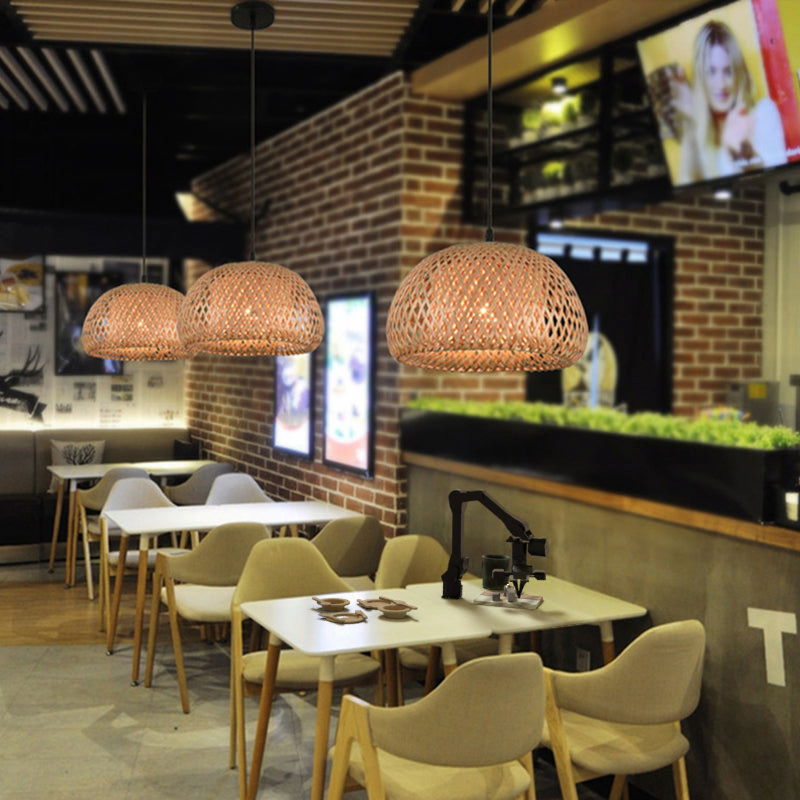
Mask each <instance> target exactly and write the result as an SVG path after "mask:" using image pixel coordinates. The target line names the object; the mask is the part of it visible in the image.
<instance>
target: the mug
mask: <svg viewBox="0 0 800 800" xmlns="http://www.w3.org/2000/svg"><path fill="white" fill-rule="evenodd" d="M481 558H482V561H481V570H482V579H481V580H482V581H481V582H482V588H484V587H485V588H484V589H488V590H504V586H506V585H507V584H510V583H509V577H504V578H503V579H502V580H496V579H493V570H494V569H504V572H510V560H511V556H509V555H506V554H505V555H504V554H495V553H494V554H493V553H492V554H491V553H489V554H483V555H482V556H481Z"/></svg>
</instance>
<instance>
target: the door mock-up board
mask: <svg viewBox="0 0 800 800" xmlns="http://www.w3.org/2000/svg"><path fill="white" fill-rule="evenodd" d="M543 600H544V597H543V595H530V594H521V597H520V599H518V597H517V593H515V601H508V599H507V597H506V595H504V592H498V591H488V590H487V591H485V590H484V591H483V592H482V593H480V594H479V595H478V596H477V597H476V598H475V599H474V600H473V604H474V605H483V606H484V605H485V606H495V607H496V606H497V607H506V608H508V607H509V608H516V609H525V610H528V609H529V610H536V609H537V607H538V606H540V604H541V603H542V602H543Z"/></svg>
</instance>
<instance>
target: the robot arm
mask: <svg viewBox="0 0 800 800" xmlns="http://www.w3.org/2000/svg"><path fill="white" fill-rule="evenodd" d="M447 497H448V498H447V499H448V507H449V509H450V512H451V516H452V517H451V554H450V556H449V559H448V563H447V569H446V571H445V572H443V574H441V576H440V578H441V581H442V595H441V597H440V598H441V599H442V598H443V599H451V600H458V599H460V598H461V597H463V587H464V586H463V584H462V579H463V577H464V576H465V575H466V574H467V573H468V569H469V568H470V567H471V566H470V564H469V562H470V556H467V557H466V554H465V513H466V511H467V507H468V504H469V502H475V501H476V502H479V503H480V504H481V505H482V506H484V507H485V508H486V509H487V510H488V511H490V512H491V513H492V514H493V515H494V516H495V517H496V518H498V519H499V520H500V521H501V522H502V523H503V525H504V526H505V528H506V530H507V531H508V532H509V533H510V535H509V537H508V538H507V539H506V540H505V543H510V545H511V549H510V551H511V553H510V571H509V572H504V569H494V570H493V579H496V580H502V579H503V578H504V577H509V582H510V583H512V586H514V591H515V594H517V597H518V599H520V597H521V595H523V594H522V593H523V591H524V587H525V586H526V584H527V583H530V578H535V579H536V581H546V580H547V575H546V574H547V573H546V571H545V570H544V569H533V565H531V564H529V565H528V554H529V555H530V557H536V558H537V557H539V558H540V557H541V558H548V556H549V553H550V552H549V551H550V545H549V542H548V537H536V536H535V535H534V533H533V532H532V531H531V529H530V524H529V523H528V522H529V521H527V520H525V519H524V518H523V517H522V518H521V517H520V516H519V515H516V514H514V513H513V512H511V511H509V510H508V509H507V508H506V507H504V506H503V505H502V504H501V503H500V502H499V501H497V499H495V498H494V497H493V496H492V495H490V494H489V492H487V491H486V490H485V489H483V488H480V489H474V490H473V489H472V490H466V489H464V488H457V489H454V490H452V491H450V492H449V493H448V496H447Z"/></svg>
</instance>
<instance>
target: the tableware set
mask: <svg viewBox="0 0 800 800" xmlns="http://www.w3.org/2000/svg"><path fill="white" fill-rule="evenodd" d="M311 600H313V601H315V602H316V604H317V605H318V606H321V608H322V609H323V610H324V611H327V612H331V613H326V612H323V613H318V614H317V615H318V616H319V617H321V618H325V619H326V620H327V621H328V622H332V623H338V624H354V623H355V624H356V623H360V622H364V621H365V620H369V618H368V615H367V614H366V613H364V611H362V609H356V610H354V612H351V611H349V612H348V611H347V612H345V611H343V610H344V609H345V607H346V606H349V605H351V601H350V600H349V599H346V598H343V597H342V598H341V597H340V598H339V597H326V598H318V597H316V596H312V597H311ZM356 602H357V603H358V604H359V606H360V607H362V608H367V609H374V610H378V611H379V612H382V613H383V616H384V617H385V618H388V619H389V618H390V619H401V618H405V617H406V615H407V613H410V612H411V611H412V610H414V611H417V610H418V607H417V606H414V605H411V604H408V603H407V602H405V601H404V600H398V599H393V598H389V597H386V596H383V595H379V597H378V598H367V599H363V600H362V599H360V598H357V599H356ZM339 611H343V612H339ZM332 612H333V613H332Z"/></svg>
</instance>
